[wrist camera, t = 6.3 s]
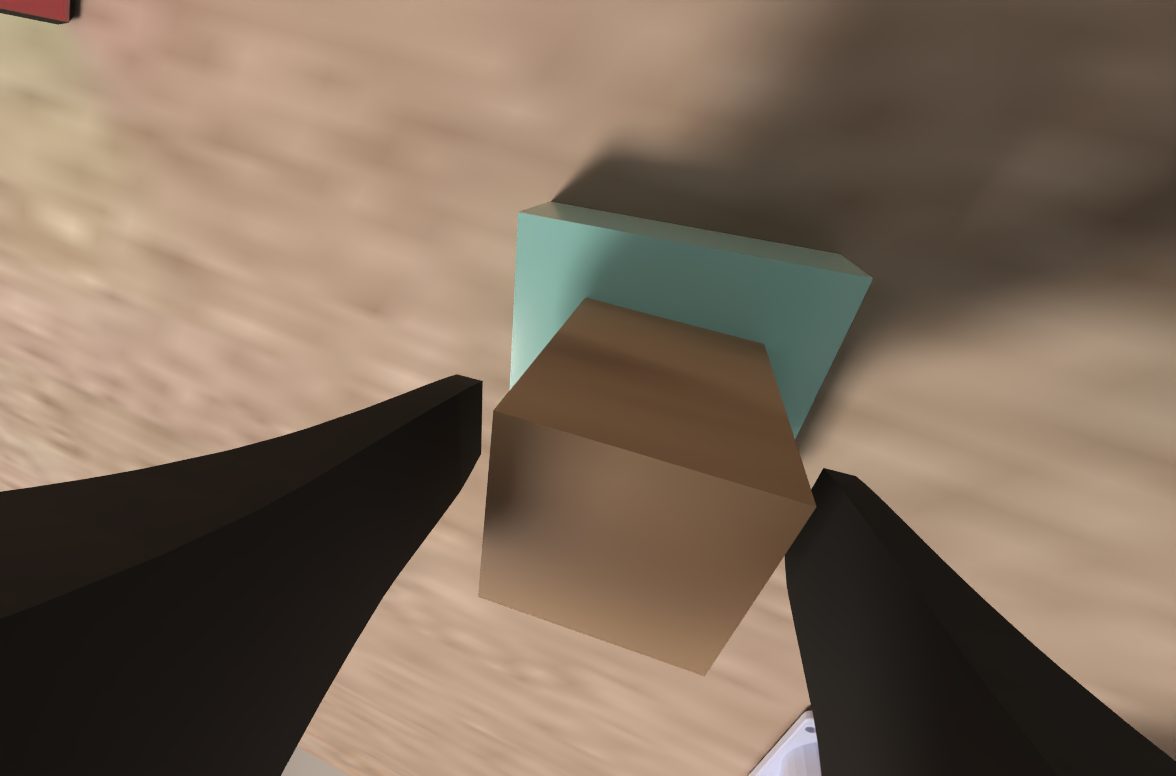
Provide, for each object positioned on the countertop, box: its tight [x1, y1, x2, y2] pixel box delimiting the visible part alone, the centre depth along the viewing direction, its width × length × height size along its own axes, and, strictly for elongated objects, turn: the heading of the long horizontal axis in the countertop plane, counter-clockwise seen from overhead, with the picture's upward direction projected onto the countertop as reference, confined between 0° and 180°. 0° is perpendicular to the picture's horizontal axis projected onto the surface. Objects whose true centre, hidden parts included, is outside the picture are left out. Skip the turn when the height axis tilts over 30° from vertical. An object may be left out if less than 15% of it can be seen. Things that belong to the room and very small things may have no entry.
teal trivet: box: [510, 201, 873, 439], centre depth 13 cm, size 8×8×3 cm
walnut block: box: [478, 297, 816, 676], centre depth 9 cm, size 4×4×6 cm
